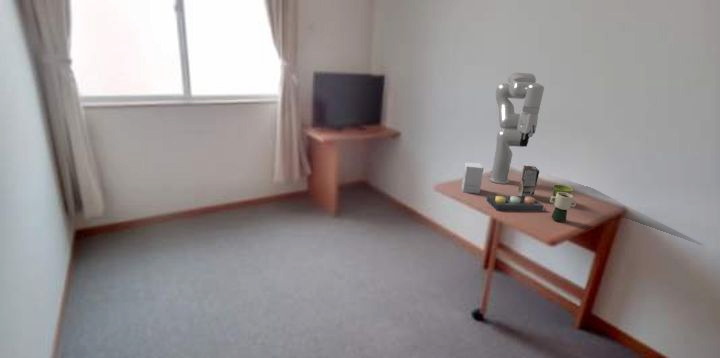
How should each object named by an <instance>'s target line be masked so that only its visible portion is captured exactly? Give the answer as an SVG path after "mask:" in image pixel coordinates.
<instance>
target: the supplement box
mask: <svg viewBox="0 0 720 358" xmlns="http://www.w3.org/2000/svg"><path fill="white" fill-rule="evenodd" d="M483 173H484V166H483V165H482V163H477V162H470V161H469V162H467V161H466V162H465V163H464V169H463V176H462V182H461V190H462V192H463V193H471V194H478V195H480V191H481V185H482V179H483Z"/></svg>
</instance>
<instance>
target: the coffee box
mask: <svg viewBox="0 0 720 358" xmlns="http://www.w3.org/2000/svg"><path fill="white" fill-rule="evenodd" d="M522 166H523V167H522V172H521V176H520V181H519V186H518V190H517V191H518V192H517V193H518V196H531V197H534V195H535V191H536V187H537V182H538V179H539V176H540V175H539V174H540V170H539V169H538V168H537V167H536V166H534V165H533V166H532V165H522Z"/></svg>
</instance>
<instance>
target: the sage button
mask: <svg viewBox="0 0 720 358" xmlns="http://www.w3.org/2000/svg"><path fill="white" fill-rule="evenodd" d="M510 196H511V197H510V201H511V202H512V203H520V201H521V198H519V197H516V196H517V195H510Z"/></svg>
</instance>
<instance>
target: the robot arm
mask: <svg viewBox="0 0 720 358" xmlns="http://www.w3.org/2000/svg"><path fill="white" fill-rule="evenodd" d="M544 91H545V86H544V85H542V84H540V83H537V80H536V76H535V75H534V74H533V73H529V72H513V73H510V75H508V77H507V83H505V82H504V83H500V84H498V86H497V87H496V89H495V99H496V100H495V101H496V103H497V107H498V123H499V127H500V128H501V129H500V130H499V131H497V133H496V147H495V152H494V153H495V154H494V158H493V163H492V164H493V165H492V169H491V170H490V175H489V176H488V177H487V180H488V181H490V182H491V183H492V182H493V183H495V184H500V185H506V184H509V183H510V182H511V181H510V179H509V178H508V177H509V173H510V168H511V164H512V158H513V151H512V150H511V148H510V147H516V148H519V147H520V148H521V147H522V148H526V147H528V144H529V141H530V138H532V137H533V135H534V134H535V133H536V130H537V125H538V121H539V120H538V119H539V112H540V109H541V108H540V107H541V104H542V99H543V95H544ZM510 99H517V100H519V99H520V100H523V99H524V101H523V106H522V110H521V113H515V106H514V104H513V103H512V102H511V100H510Z"/></svg>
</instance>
